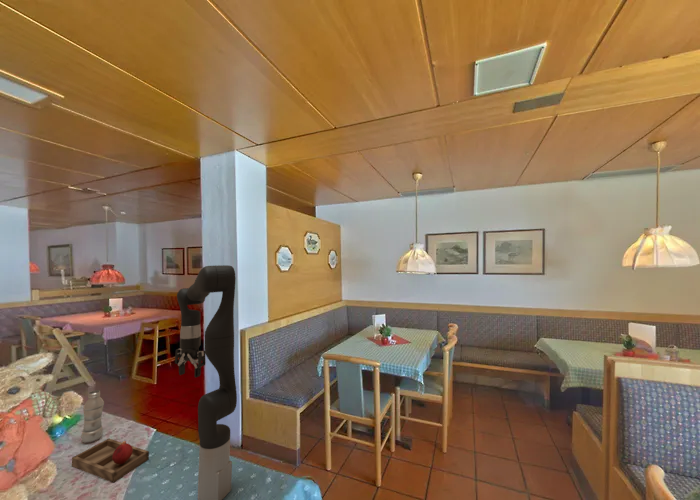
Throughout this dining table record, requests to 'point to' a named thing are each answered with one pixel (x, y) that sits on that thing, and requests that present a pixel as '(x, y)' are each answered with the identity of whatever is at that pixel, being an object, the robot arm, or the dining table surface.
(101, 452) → the walnut tray
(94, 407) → the plastic bottle
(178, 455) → the dining table surface
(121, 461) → the pomegranate
